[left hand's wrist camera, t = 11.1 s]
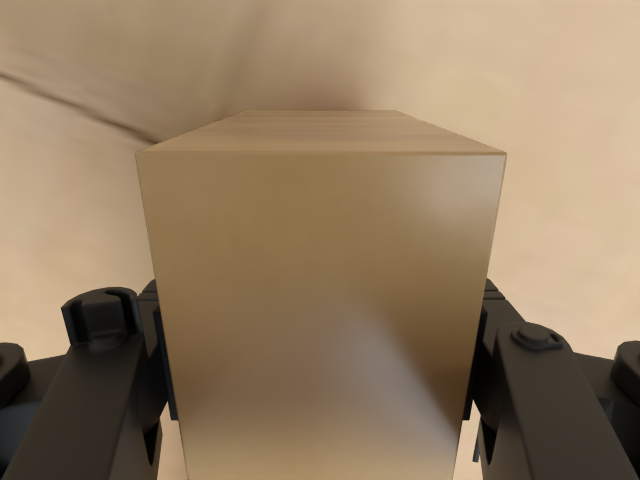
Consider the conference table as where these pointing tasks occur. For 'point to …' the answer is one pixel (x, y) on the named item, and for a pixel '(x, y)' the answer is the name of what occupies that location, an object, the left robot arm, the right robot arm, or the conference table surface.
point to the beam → (320, 290)
